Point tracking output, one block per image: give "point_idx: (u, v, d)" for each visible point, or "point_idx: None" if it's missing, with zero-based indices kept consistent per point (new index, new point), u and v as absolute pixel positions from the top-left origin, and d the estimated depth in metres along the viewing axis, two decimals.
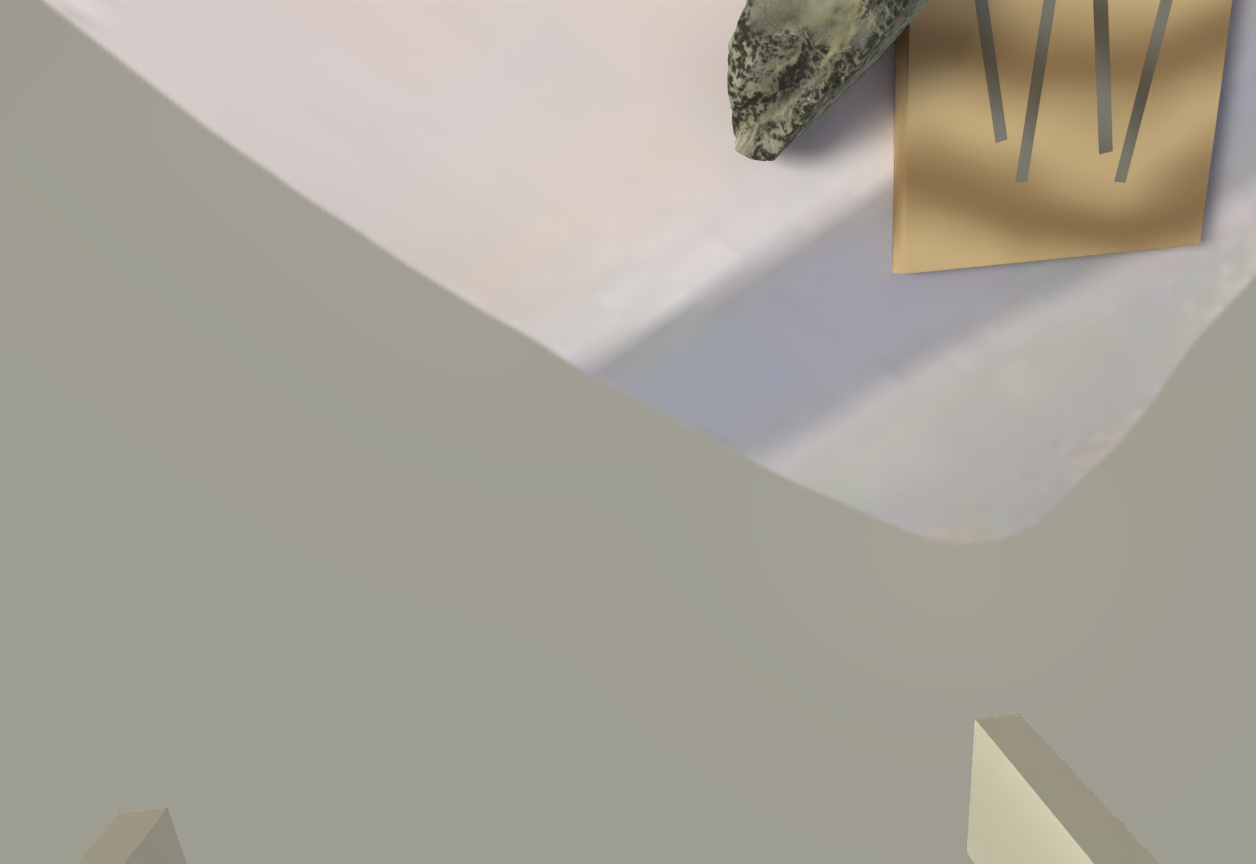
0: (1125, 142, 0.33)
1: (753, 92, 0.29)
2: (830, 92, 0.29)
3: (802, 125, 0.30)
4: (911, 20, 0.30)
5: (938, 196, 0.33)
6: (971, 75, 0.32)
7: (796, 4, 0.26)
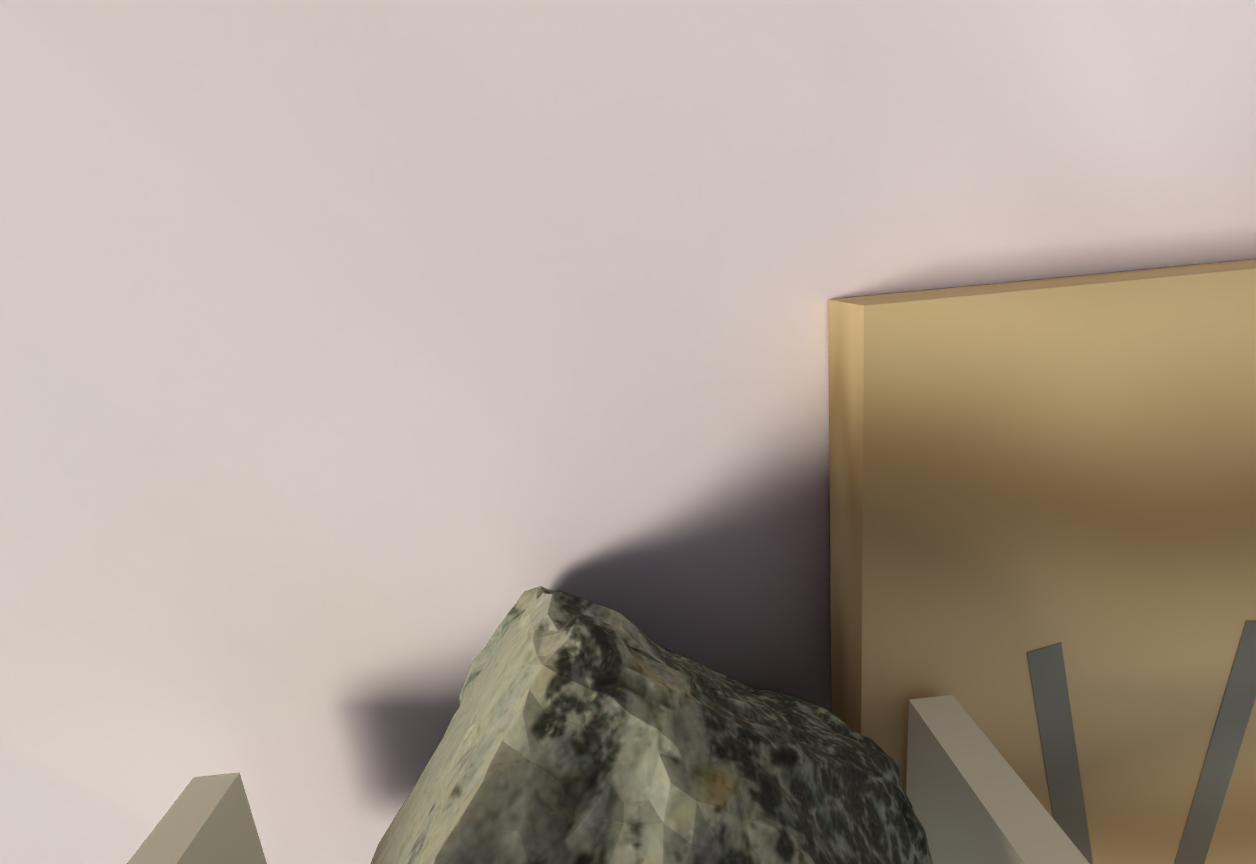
0: None
1: None
2: None
3: None
4: None
5: None
6: None
7: None
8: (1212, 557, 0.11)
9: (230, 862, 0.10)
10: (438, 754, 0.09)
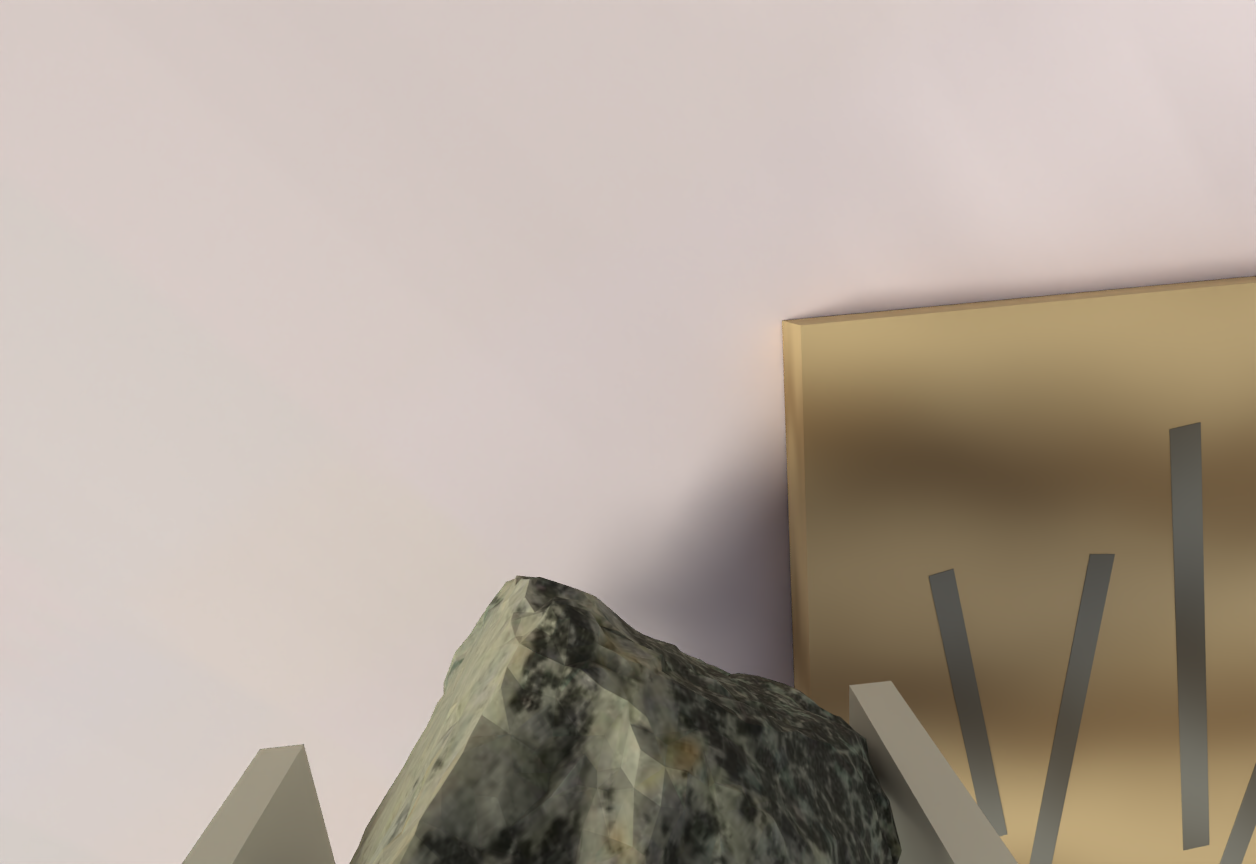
0: (1233, 830, 0.17)
1: None
2: None
3: None
4: None
5: None
6: (936, 742, 0.16)
7: None
8: (1060, 505, 0.15)
9: (297, 828, 0.11)
10: (423, 738, 0.10)
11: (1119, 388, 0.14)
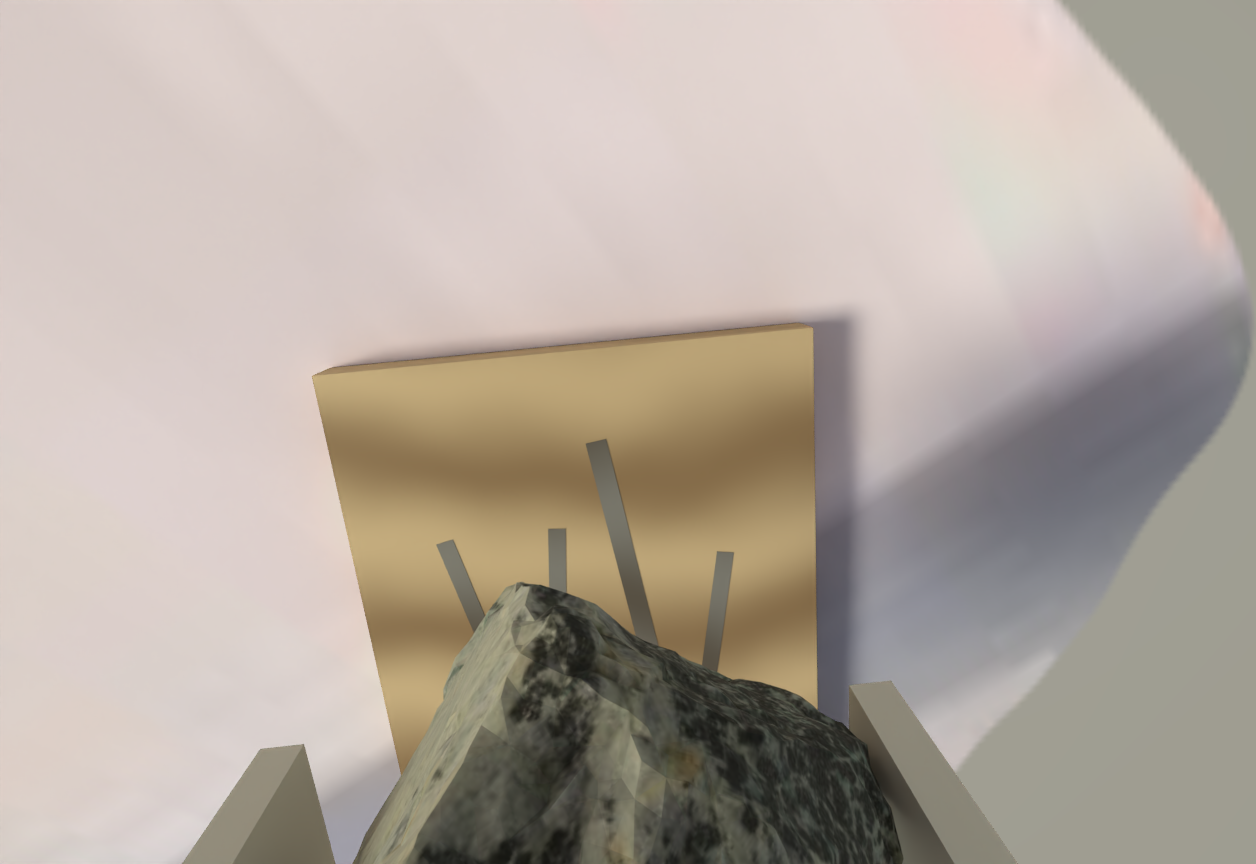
0: None
1: None
2: None
3: None
4: None
5: None
6: None
7: None
8: (520, 495, 0.22)
9: (298, 828, 0.11)
10: (422, 745, 0.10)
11: (544, 416, 0.21)
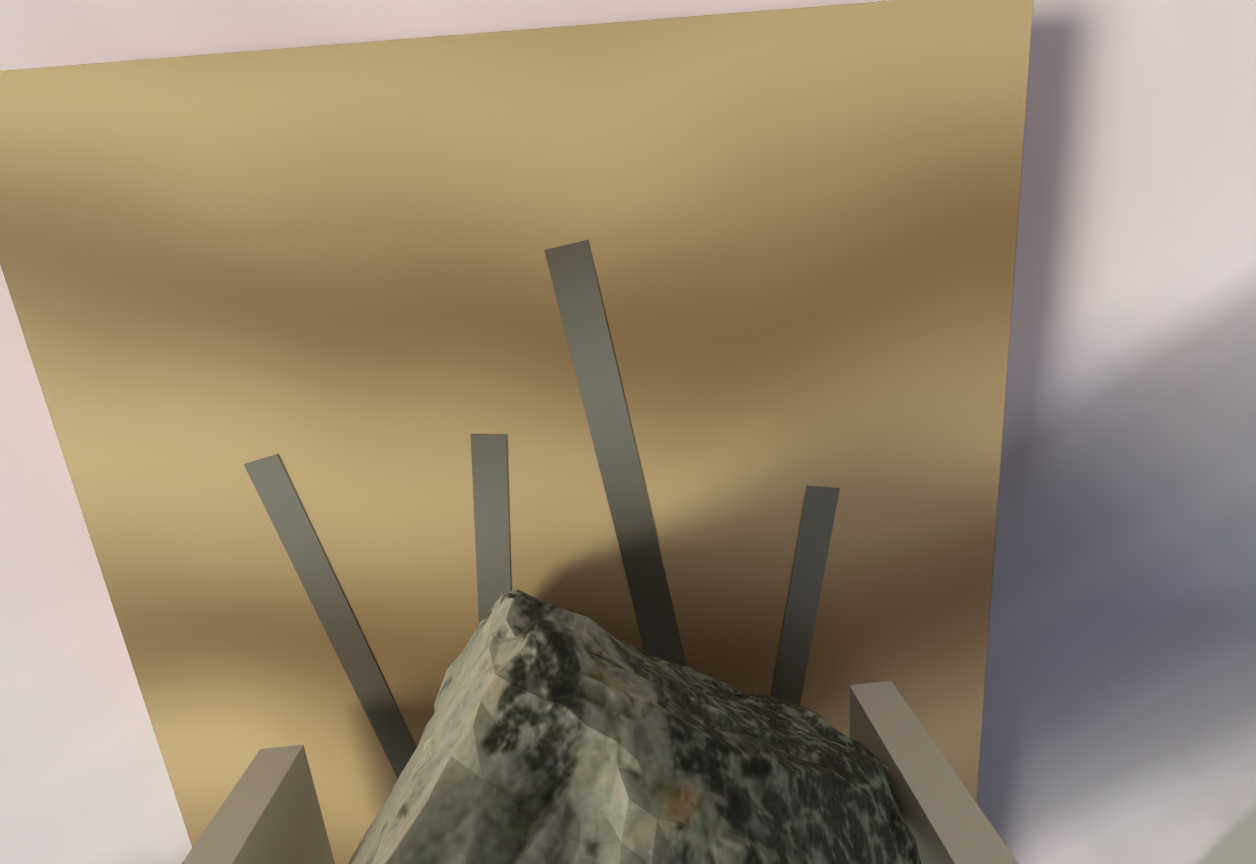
0: None
1: None
2: None
3: None
4: None
5: None
6: (318, 696, 0.12)
7: None
8: (411, 362, 0.11)
9: (298, 828, 0.11)
10: (408, 765, 0.09)
11: (455, 185, 0.10)
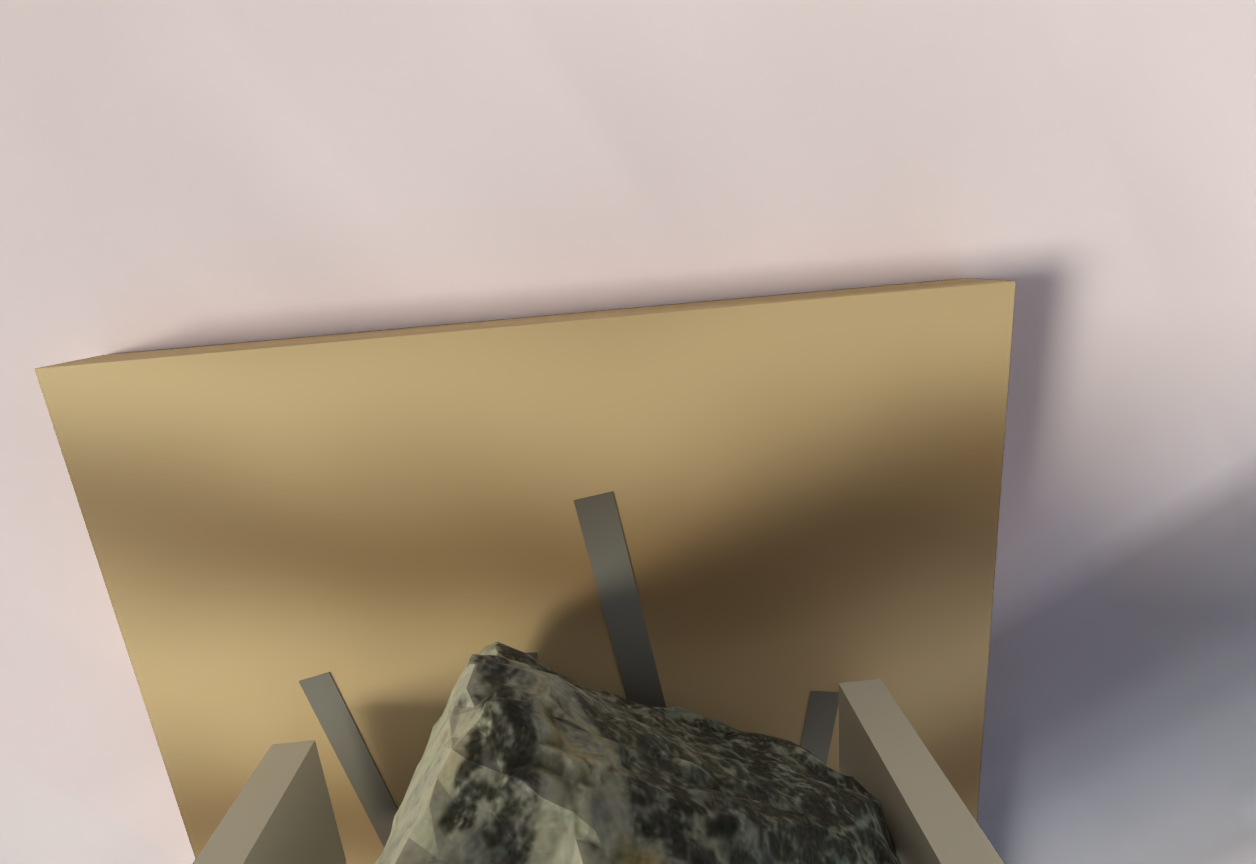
0: None
1: None
2: None
3: None
4: None
5: None
6: None
7: None
8: (452, 594, 0.12)
9: (309, 823, 0.11)
10: None
11: (494, 449, 0.11)
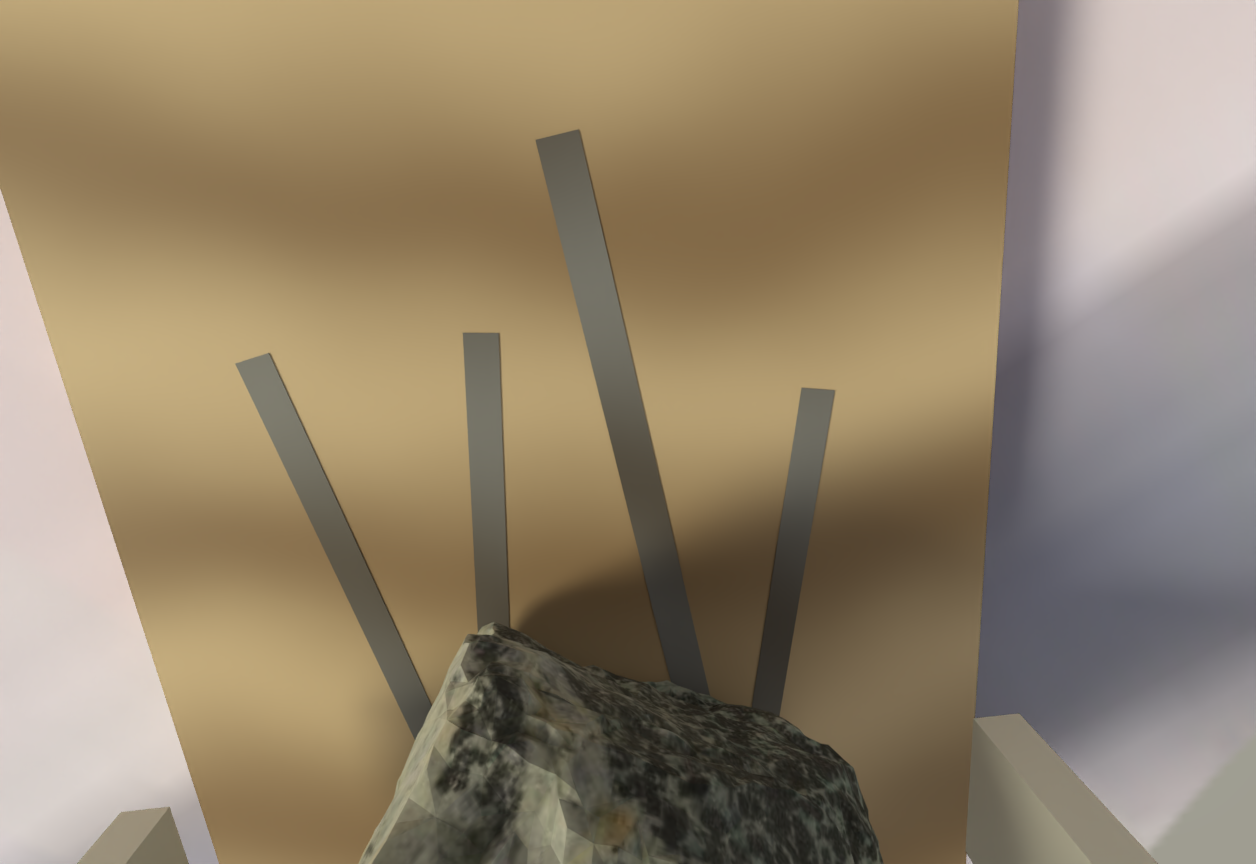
0: None
1: None
2: None
3: None
4: None
5: (298, 847, 0.14)
6: (312, 606, 0.12)
7: None
8: (402, 257, 0.11)
9: None
10: None
11: (446, 72, 0.10)
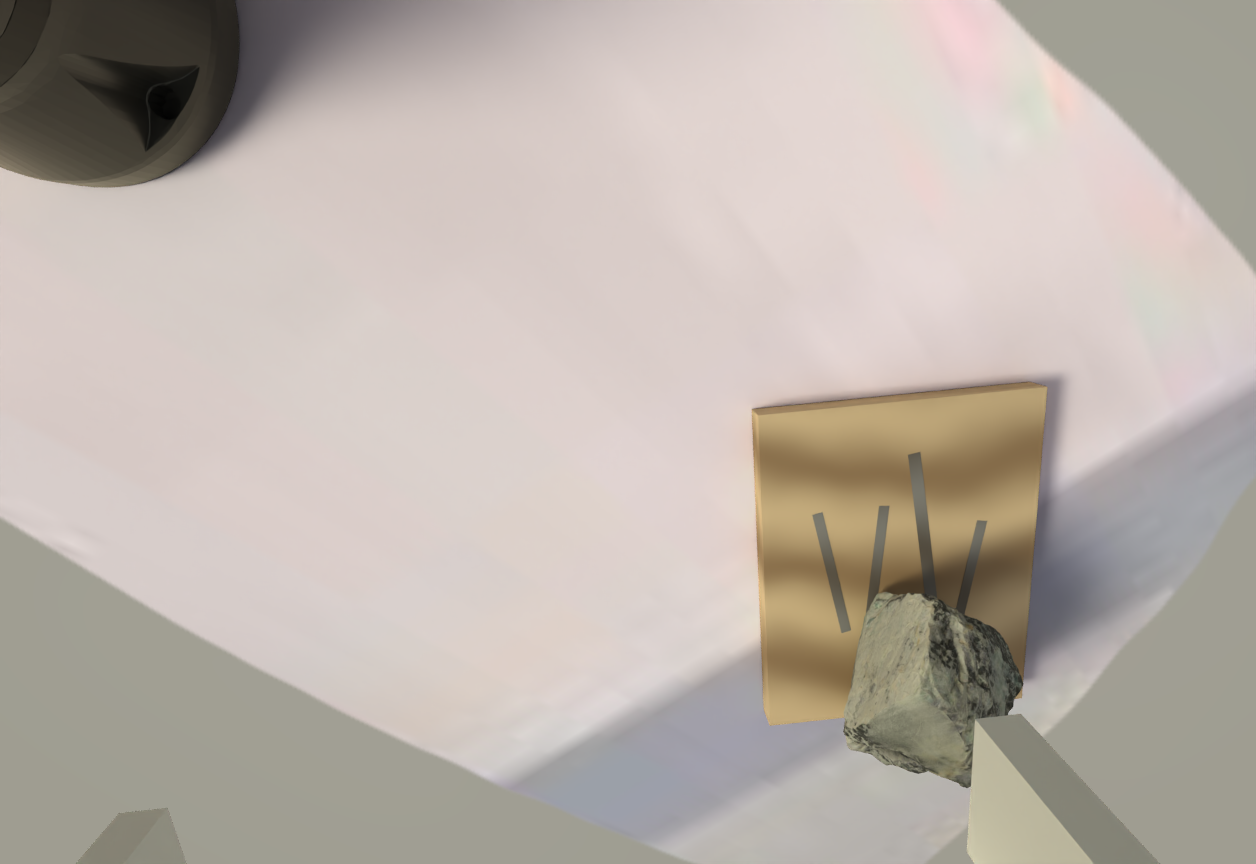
0: None
1: None
2: None
3: None
4: None
5: (795, 671, 0.40)
6: (818, 587, 0.38)
7: (908, 742, 0.32)
8: (865, 485, 0.37)
9: None
10: (876, 638, 0.36)
11: (886, 438, 0.36)
